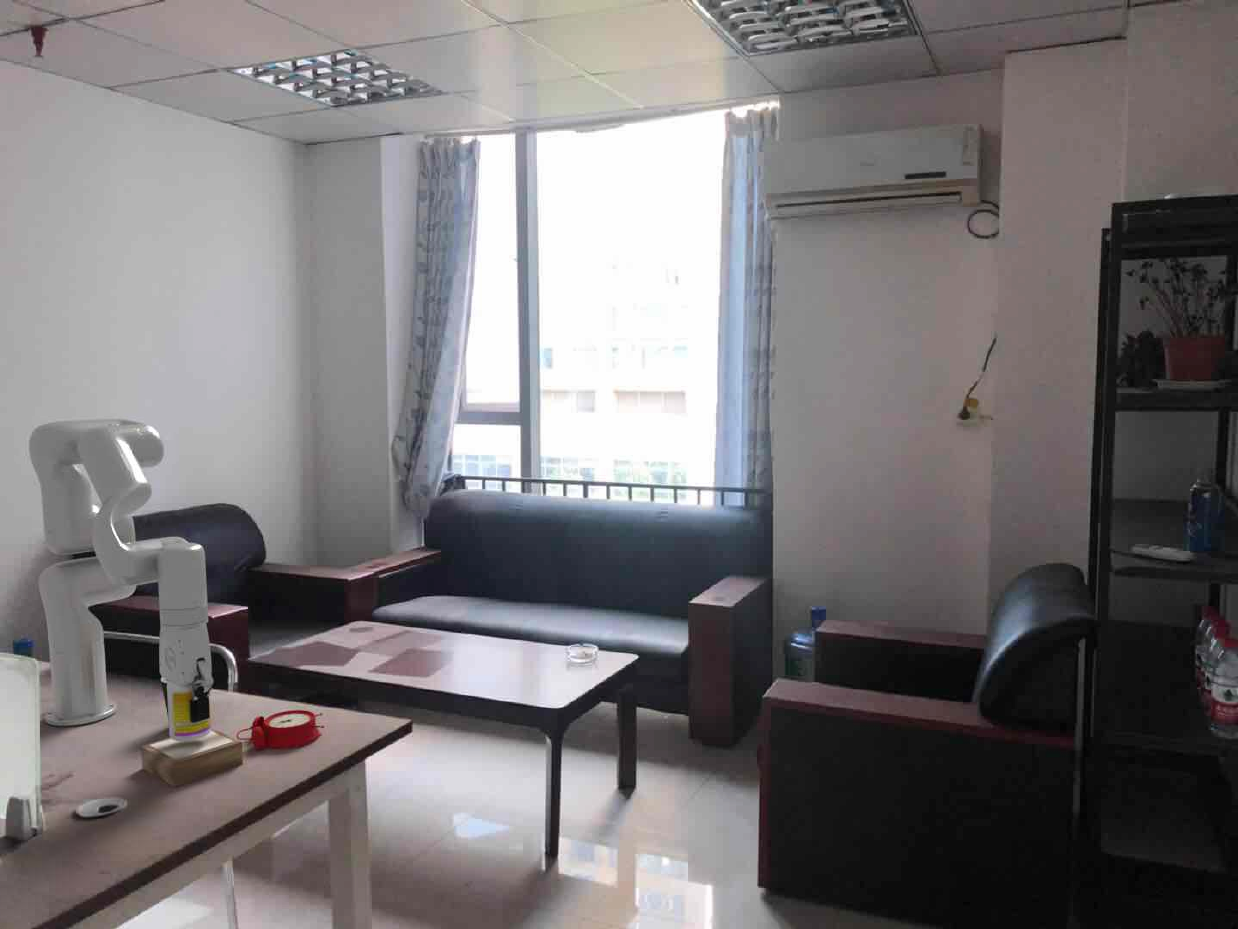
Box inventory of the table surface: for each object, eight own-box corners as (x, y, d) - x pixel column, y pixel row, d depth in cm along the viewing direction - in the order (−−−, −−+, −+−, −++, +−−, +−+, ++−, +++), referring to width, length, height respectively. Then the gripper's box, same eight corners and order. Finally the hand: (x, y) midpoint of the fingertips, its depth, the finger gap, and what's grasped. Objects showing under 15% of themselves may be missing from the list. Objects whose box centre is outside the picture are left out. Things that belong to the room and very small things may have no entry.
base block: (142, 768, 166) (140, 745, 165) (208, 747, 175) (207, 725, 174) (175, 787, 158) (173, 763, 158) (242, 763, 167) (241, 741, 167)
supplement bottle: (218, 734, 166) (214, 663, 165) (179, 746, 161) (175, 672, 160) (200, 725, 171) (197, 655, 169) (163, 736, 166) (158, 664, 164)
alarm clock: (326, 726, 176) (240, 718, 170) (320, 759, 176) (234, 752, 170) (323, 707, 185) (242, 700, 180) (317, 738, 186) (236, 732, 180)
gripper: (139, 611, 166) (145, 710, 168) (187, 628, 155) (192, 734, 157) (181, 603, 172) (186, 699, 174) (230, 619, 161) (235, 720, 163)
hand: (189, 714), depth 166 cm, fingers closed on supplement bottle, 6 cm apart
